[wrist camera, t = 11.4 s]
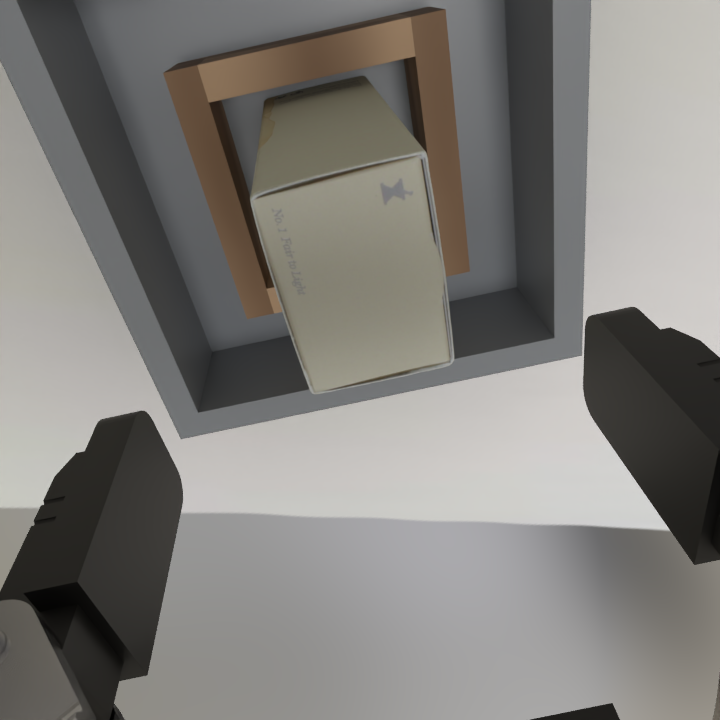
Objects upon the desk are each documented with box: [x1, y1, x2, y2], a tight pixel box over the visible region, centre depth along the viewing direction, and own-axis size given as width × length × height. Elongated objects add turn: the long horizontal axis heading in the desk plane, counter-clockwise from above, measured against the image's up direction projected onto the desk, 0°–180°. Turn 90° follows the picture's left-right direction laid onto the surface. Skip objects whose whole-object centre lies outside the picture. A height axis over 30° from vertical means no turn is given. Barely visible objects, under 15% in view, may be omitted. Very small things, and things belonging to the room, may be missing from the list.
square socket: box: [163, 7, 470, 319], centre depth 24 cm, size 10×10×3 cm
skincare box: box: [250, 76, 454, 394], centre depth 20 cm, size 6×4×12 cm
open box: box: [0, 0, 591, 439], centre depth 23 cm, size 18×18×6 cm
